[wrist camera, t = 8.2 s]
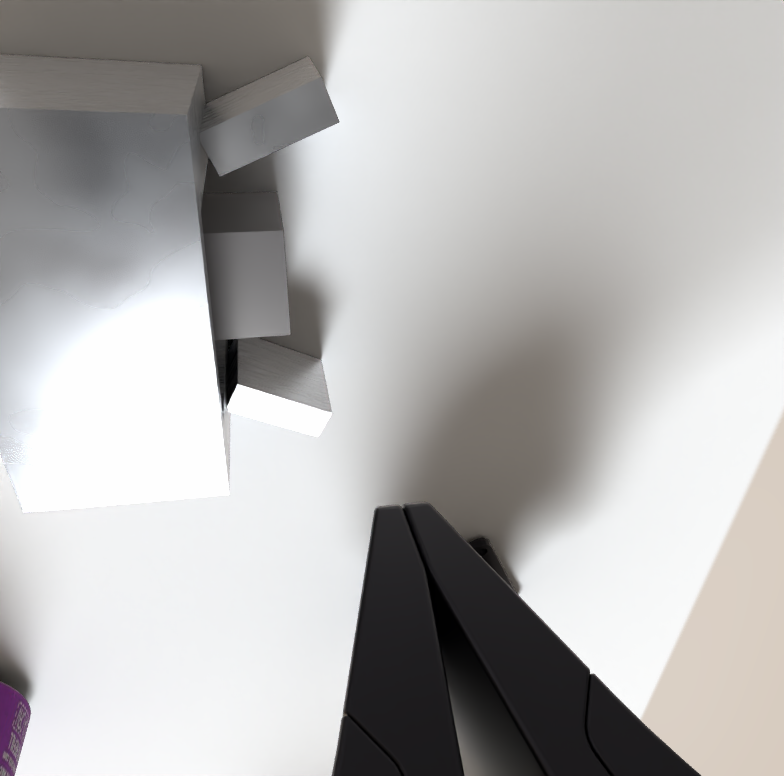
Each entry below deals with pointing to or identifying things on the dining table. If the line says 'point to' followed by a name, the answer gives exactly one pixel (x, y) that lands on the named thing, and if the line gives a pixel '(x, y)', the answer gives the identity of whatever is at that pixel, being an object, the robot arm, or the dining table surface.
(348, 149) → the dining table surface
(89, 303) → the housing
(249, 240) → the plug
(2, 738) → the beverage can
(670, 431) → the dining table surface
